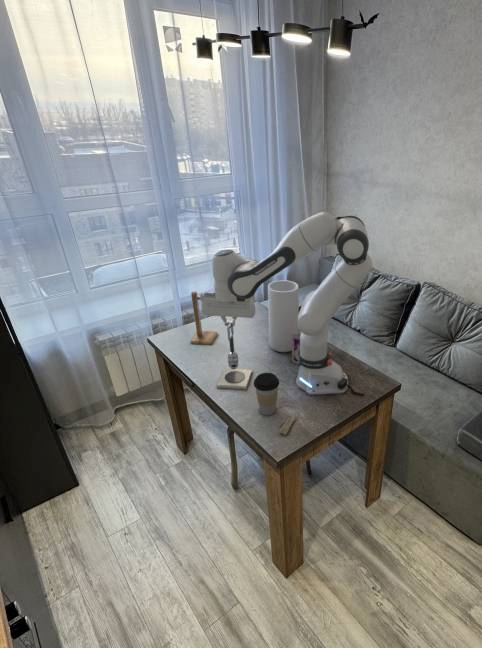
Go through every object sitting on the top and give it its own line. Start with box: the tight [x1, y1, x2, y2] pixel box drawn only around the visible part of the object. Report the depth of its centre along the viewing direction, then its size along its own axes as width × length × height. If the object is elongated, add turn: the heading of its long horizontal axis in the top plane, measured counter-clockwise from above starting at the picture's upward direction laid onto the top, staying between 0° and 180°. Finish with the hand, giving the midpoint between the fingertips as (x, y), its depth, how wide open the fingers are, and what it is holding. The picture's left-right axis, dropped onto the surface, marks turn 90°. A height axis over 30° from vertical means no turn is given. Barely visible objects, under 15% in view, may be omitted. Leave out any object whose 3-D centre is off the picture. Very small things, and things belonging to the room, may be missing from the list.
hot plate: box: [216, 368, 253, 390], centre depth 169 cm, size 12×12×2 cm
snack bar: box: [278, 416, 297, 436], centre depth 146 cm, size 10×2×3 cm
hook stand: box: [190, 291, 218, 345], centre depth 191 cm, size 15×10×25 cm, turn 88°
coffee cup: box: [253, 372, 280, 416], centre depth 150 cm, size 9×9×15 cm
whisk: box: [226, 319, 239, 369], centre depth 161 cm, size 4×6×21 cm
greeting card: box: [291, 333, 301, 365], centre depth 179 cm, size 11×7×15 cm, turn 66°
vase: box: [267, 279, 300, 353], centre depth 187 cm, size 14×14×32 cm
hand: (230, 325), depth 156 cm, fingers closed on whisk
